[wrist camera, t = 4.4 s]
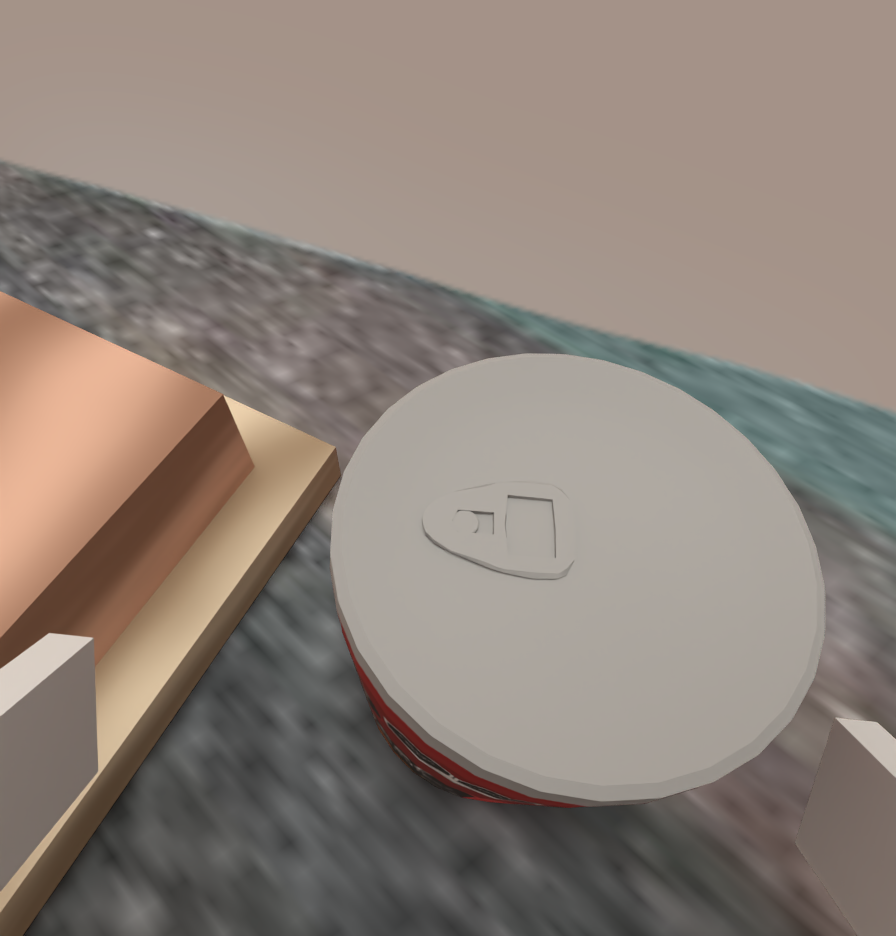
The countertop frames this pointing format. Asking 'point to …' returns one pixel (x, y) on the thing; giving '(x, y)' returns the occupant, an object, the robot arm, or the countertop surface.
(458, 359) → the countertop surface
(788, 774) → the countertop surface
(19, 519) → the stand
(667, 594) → the canned food
